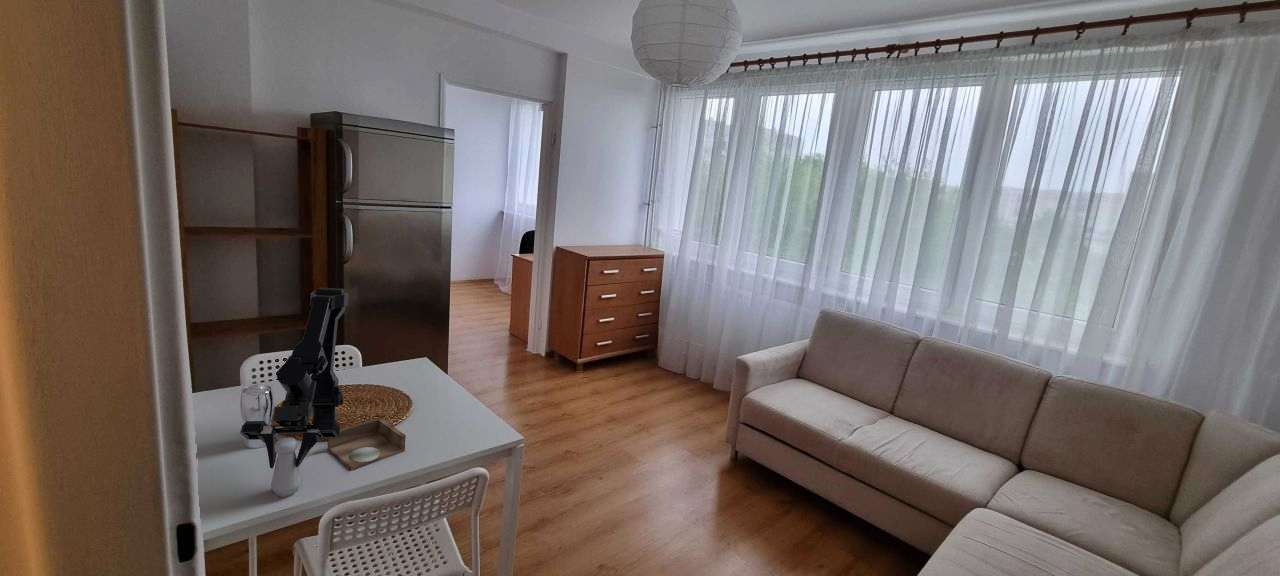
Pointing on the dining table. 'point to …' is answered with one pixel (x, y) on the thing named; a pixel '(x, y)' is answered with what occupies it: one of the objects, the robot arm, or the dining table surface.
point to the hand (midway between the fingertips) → (284, 467)
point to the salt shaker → (286, 468)
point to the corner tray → (367, 443)
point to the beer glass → (256, 408)
